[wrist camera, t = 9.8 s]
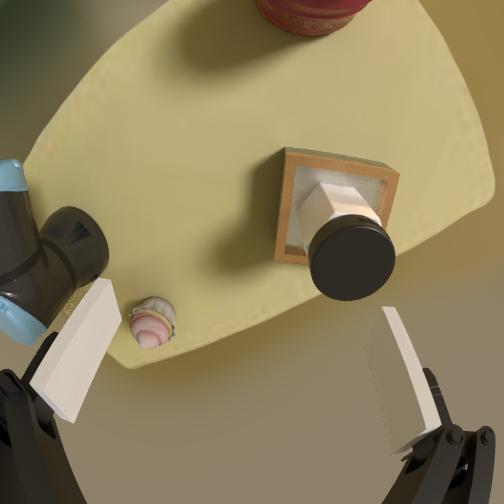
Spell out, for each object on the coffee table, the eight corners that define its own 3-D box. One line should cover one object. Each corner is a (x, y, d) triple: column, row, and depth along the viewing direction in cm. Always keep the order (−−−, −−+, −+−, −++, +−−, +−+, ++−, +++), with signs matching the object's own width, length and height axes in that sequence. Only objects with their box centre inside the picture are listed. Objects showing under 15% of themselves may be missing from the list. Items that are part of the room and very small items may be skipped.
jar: (369, 231, 34) (402, 287, 24) (314, 253, 36) (327, 315, 26) (350, 170, 30) (386, 207, 20) (288, 194, 33) (295, 242, 22)
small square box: (273, 245, 41) (273, 266, 36) (284, 146, 33) (286, 154, 29) (361, 254, 41) (370, 275, 36) (383, 163, 33) (399, 173, 28)
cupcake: (129, 300, 50) (108, 336, 41) (158, 282, 47) (137, 321, 38) (161, 330, 53) (146, 367, 45) (192, 316, 50) (178, 356, 42)
